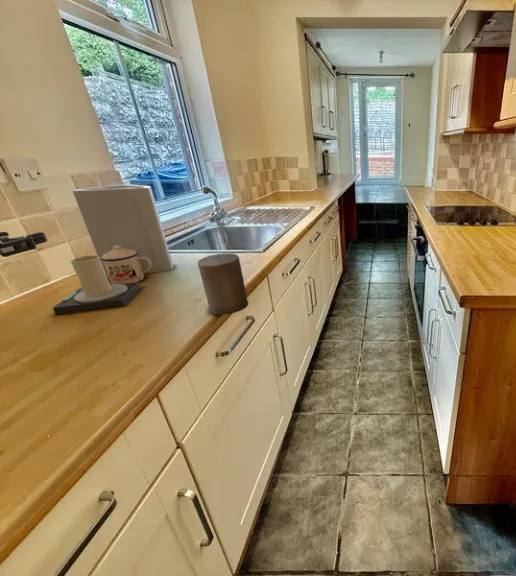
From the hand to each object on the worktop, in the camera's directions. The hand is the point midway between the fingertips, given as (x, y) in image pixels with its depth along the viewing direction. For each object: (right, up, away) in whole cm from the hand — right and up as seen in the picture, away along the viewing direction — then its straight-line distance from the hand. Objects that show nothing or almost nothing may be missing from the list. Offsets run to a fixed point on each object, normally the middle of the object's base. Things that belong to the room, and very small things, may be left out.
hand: (25, 236), depth 71 cm
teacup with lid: (-1, -9, +33) cm, 34 cm away
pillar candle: (+39, -17, +15) cm, 45 cm away
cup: (+1, -13, +18) cm, 22 cm away
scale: (0, -15, +19) cm, 24 cm away
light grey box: (-6, -4, +44) cm, 44 cm away
